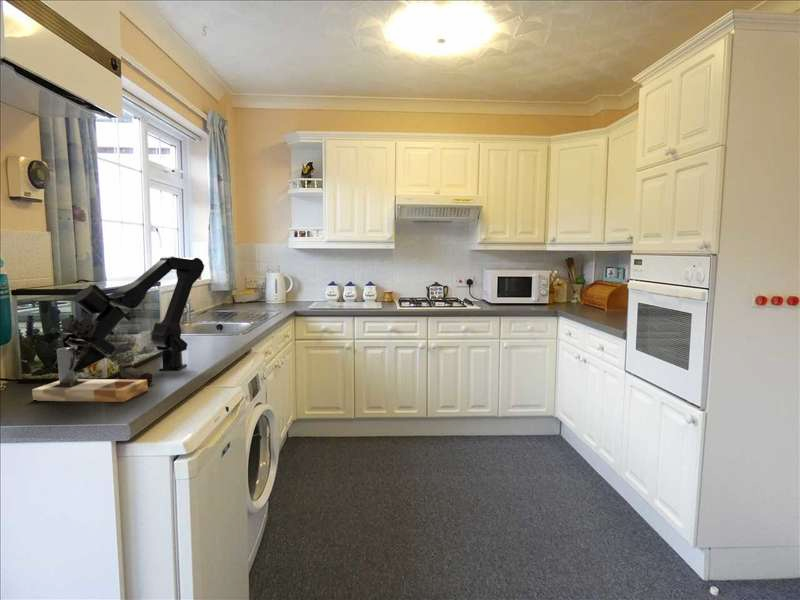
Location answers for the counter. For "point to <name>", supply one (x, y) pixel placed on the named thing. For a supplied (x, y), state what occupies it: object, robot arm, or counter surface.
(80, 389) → the rail board
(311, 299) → the counter surface
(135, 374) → the brown rough long piece
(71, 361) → the steel peg
